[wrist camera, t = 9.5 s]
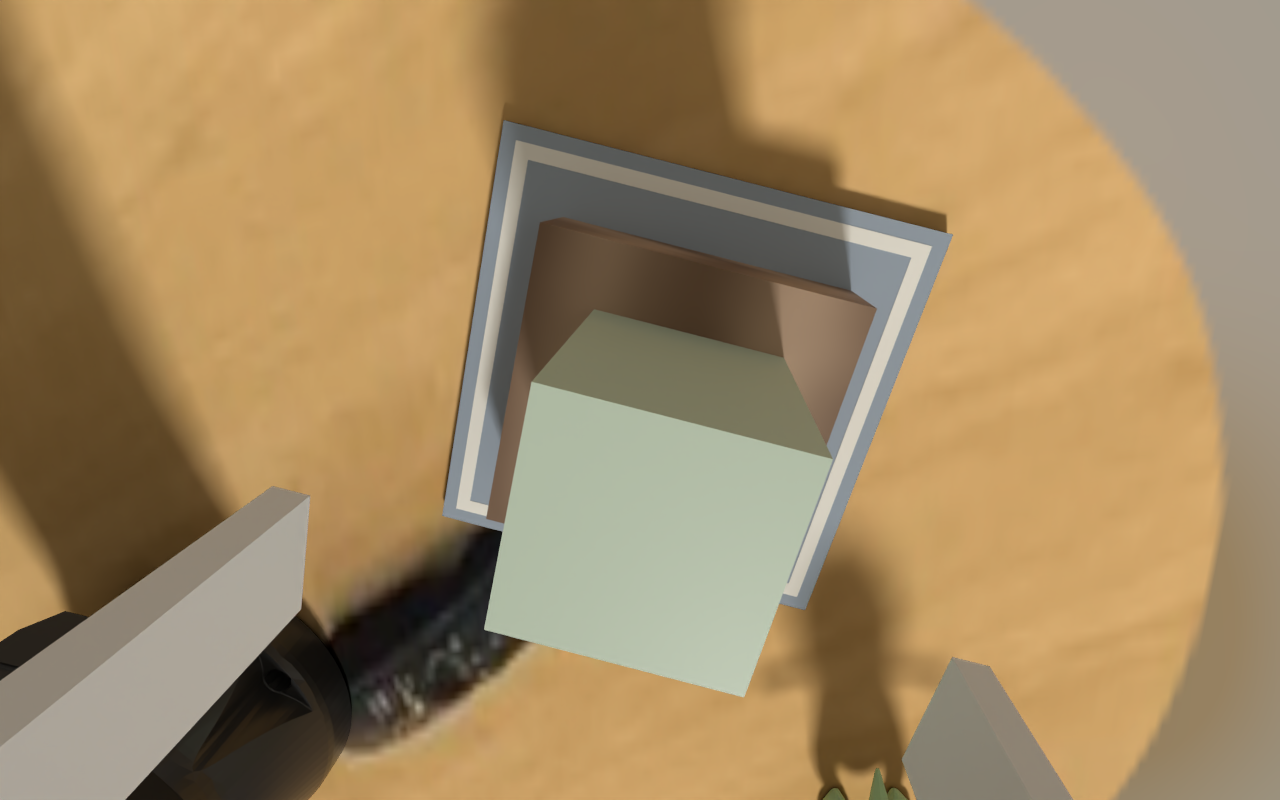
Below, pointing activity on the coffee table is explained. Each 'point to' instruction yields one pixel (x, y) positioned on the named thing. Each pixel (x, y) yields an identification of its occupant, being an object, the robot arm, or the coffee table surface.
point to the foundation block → (678, 317)
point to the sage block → (657, 502)
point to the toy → (878, 791)
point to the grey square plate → (705, 222)
